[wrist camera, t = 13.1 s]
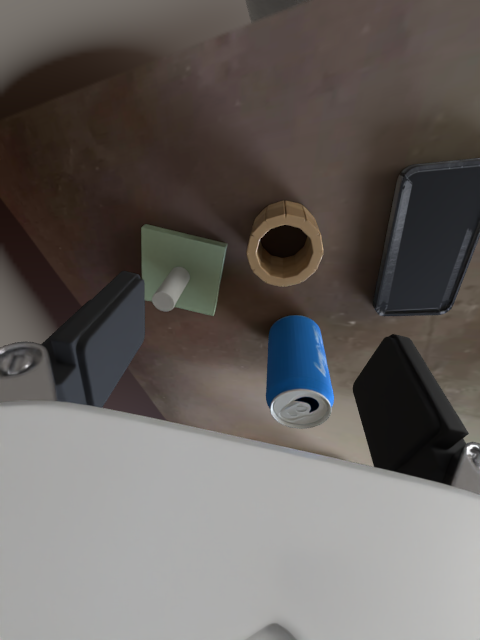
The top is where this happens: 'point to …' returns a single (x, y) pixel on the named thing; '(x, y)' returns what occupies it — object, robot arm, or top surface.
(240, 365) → the top surface
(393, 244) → the phone
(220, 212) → the top surface
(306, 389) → the beverage can
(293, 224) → the ring
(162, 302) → the post stand
